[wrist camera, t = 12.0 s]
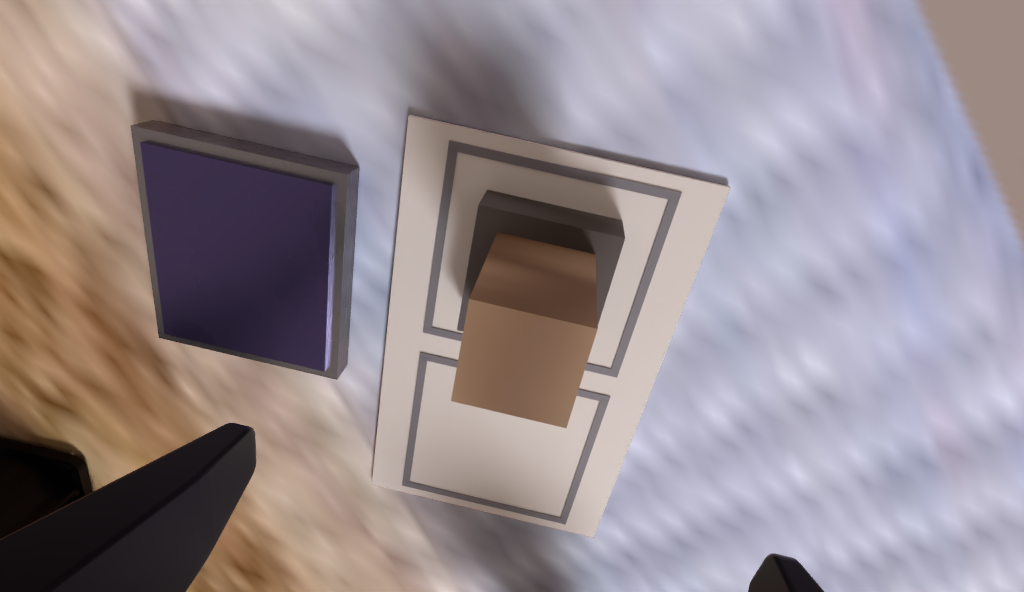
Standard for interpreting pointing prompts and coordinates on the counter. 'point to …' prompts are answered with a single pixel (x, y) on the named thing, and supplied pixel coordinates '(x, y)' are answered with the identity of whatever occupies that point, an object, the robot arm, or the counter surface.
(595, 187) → the form sheet
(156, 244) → the ink pad
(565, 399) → the stamp
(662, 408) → the counter surface
